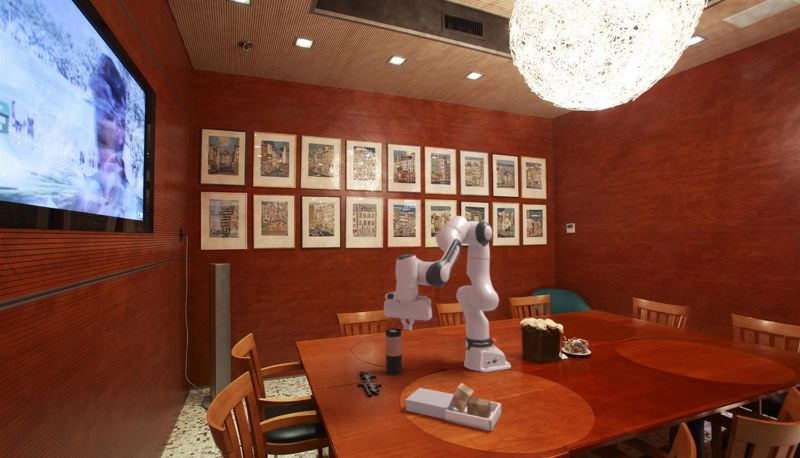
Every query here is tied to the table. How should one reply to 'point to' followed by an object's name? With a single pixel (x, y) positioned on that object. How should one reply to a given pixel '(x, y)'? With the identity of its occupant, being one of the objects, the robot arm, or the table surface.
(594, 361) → the table surface
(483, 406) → the walnut block
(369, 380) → the nameplate
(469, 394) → the oak block
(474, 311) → the robot arm
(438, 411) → the white box cover
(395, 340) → the travel mug
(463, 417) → the tray
